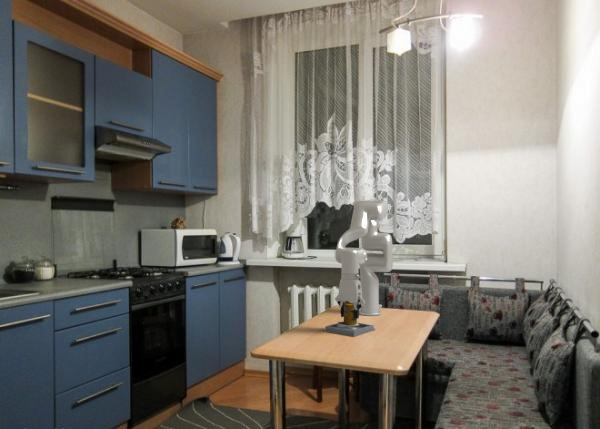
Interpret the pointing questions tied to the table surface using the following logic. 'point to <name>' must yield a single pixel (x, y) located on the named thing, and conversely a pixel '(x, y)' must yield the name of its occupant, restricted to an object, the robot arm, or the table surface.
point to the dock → (349, 329)
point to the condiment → (348, 315)
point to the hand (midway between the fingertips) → (349, 317)
